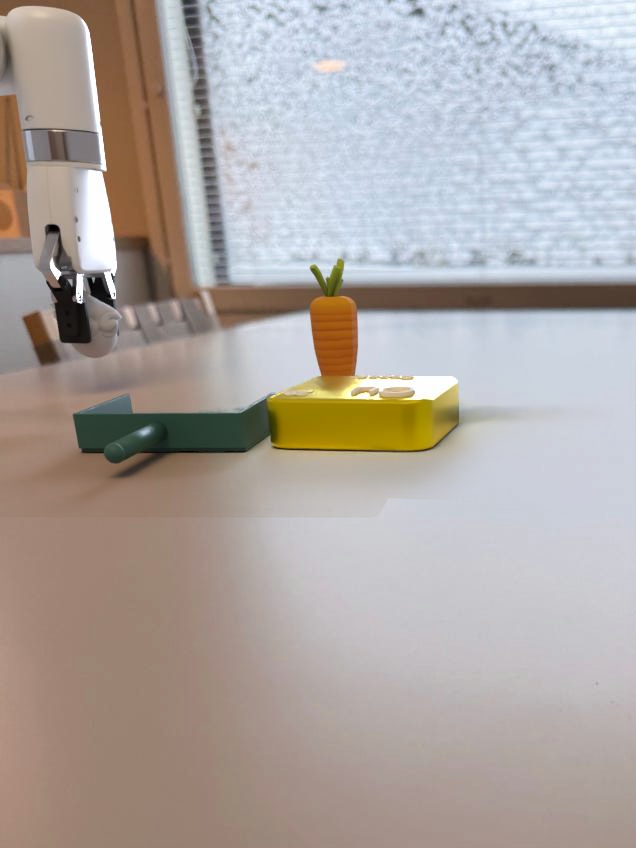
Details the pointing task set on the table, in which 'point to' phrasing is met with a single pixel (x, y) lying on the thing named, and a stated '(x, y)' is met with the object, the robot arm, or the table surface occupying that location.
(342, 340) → the carrot
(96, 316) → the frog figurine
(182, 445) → the scoop
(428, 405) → the element tile
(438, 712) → the table surface
